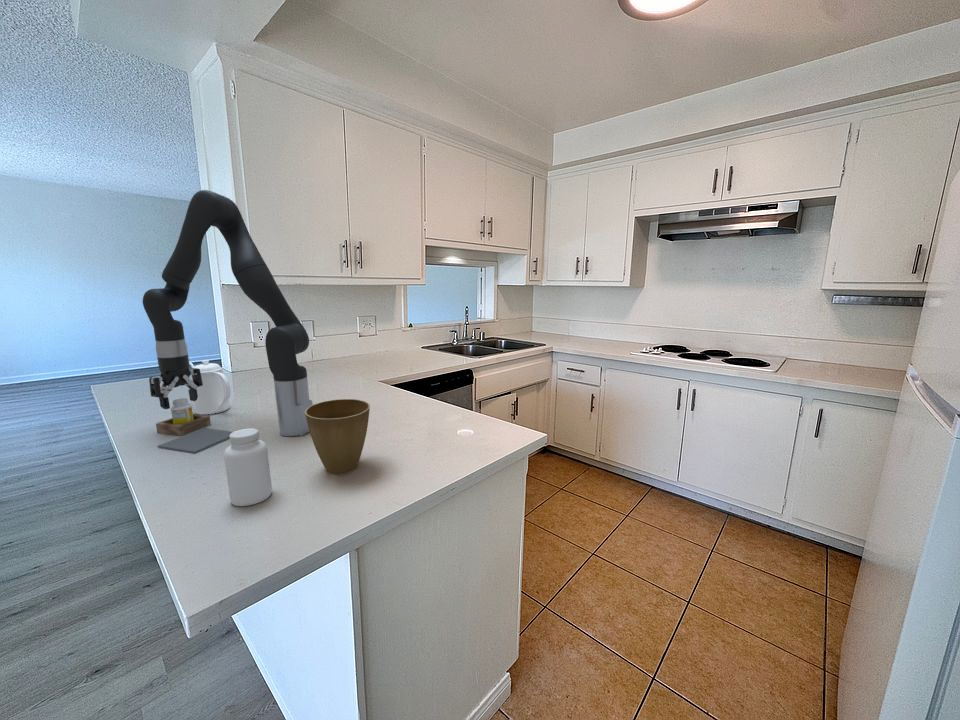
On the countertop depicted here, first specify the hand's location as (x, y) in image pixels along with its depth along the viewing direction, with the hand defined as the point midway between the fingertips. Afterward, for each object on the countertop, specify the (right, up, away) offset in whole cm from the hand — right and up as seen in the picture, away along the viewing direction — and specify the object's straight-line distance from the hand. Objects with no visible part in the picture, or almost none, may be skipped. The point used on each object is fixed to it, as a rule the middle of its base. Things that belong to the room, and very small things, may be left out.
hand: (180, 404), depth 122 cm
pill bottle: (+45, -16, -38) cm, 61 cm away
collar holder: (0, -8, +1) cm, 8 cm away
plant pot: (+60, -13, -25) cm, 66 cm away
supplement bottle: (0, -8, +2) cm, 8 cm away
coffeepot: (-3, -5, +19) cm, 19 cm away
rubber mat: (+12, -10, -8) cm, 17 cm away
